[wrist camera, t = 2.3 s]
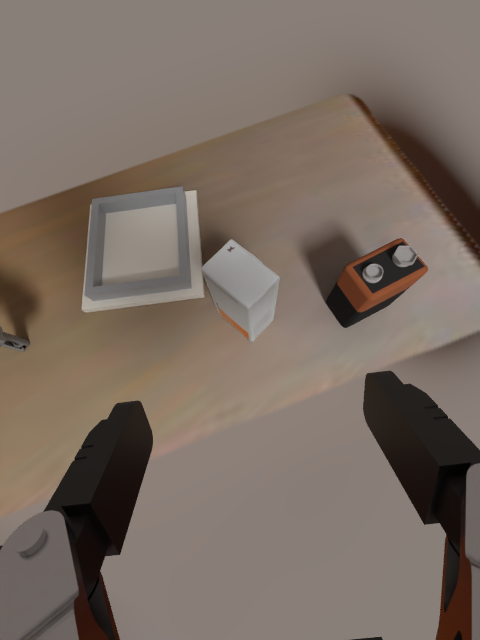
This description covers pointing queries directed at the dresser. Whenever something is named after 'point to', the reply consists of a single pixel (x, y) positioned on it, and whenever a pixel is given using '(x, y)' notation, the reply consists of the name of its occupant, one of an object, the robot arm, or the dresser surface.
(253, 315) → the skincare box
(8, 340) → the mechanical component
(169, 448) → the dresser surface
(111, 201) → the grey rimmed tray
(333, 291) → the battery
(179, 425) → the dresser surface
